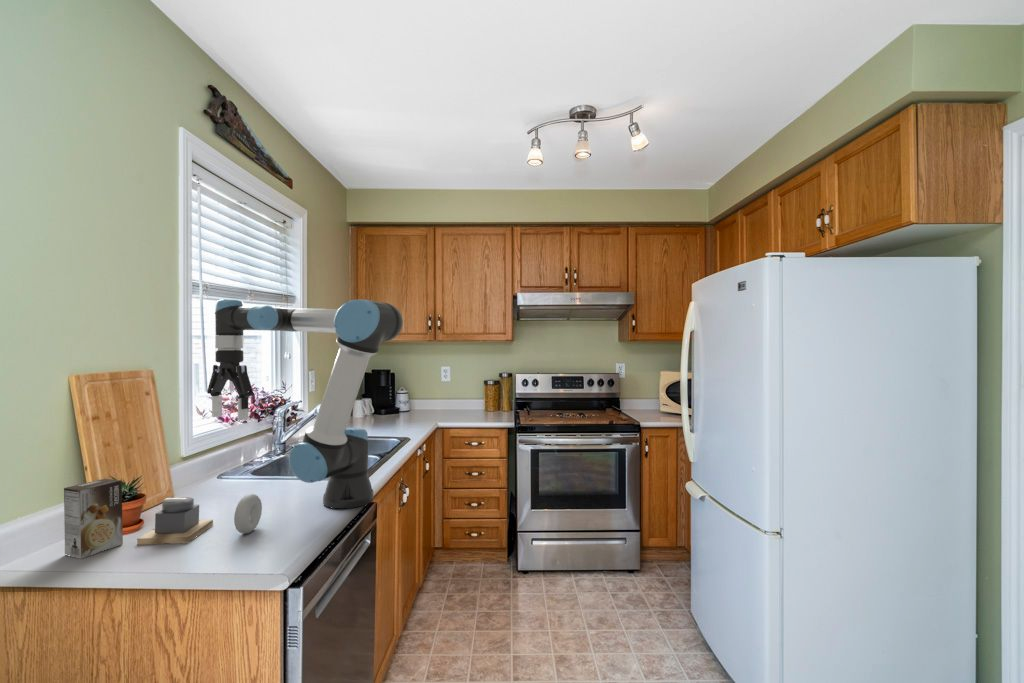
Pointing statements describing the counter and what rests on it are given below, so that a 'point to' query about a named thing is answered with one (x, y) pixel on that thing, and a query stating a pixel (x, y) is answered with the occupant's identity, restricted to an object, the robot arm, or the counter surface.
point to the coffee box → (93, 517)
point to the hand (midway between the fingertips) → (229, 418)
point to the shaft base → (174, 535)
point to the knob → (177, 515)
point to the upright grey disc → (248, 513)
